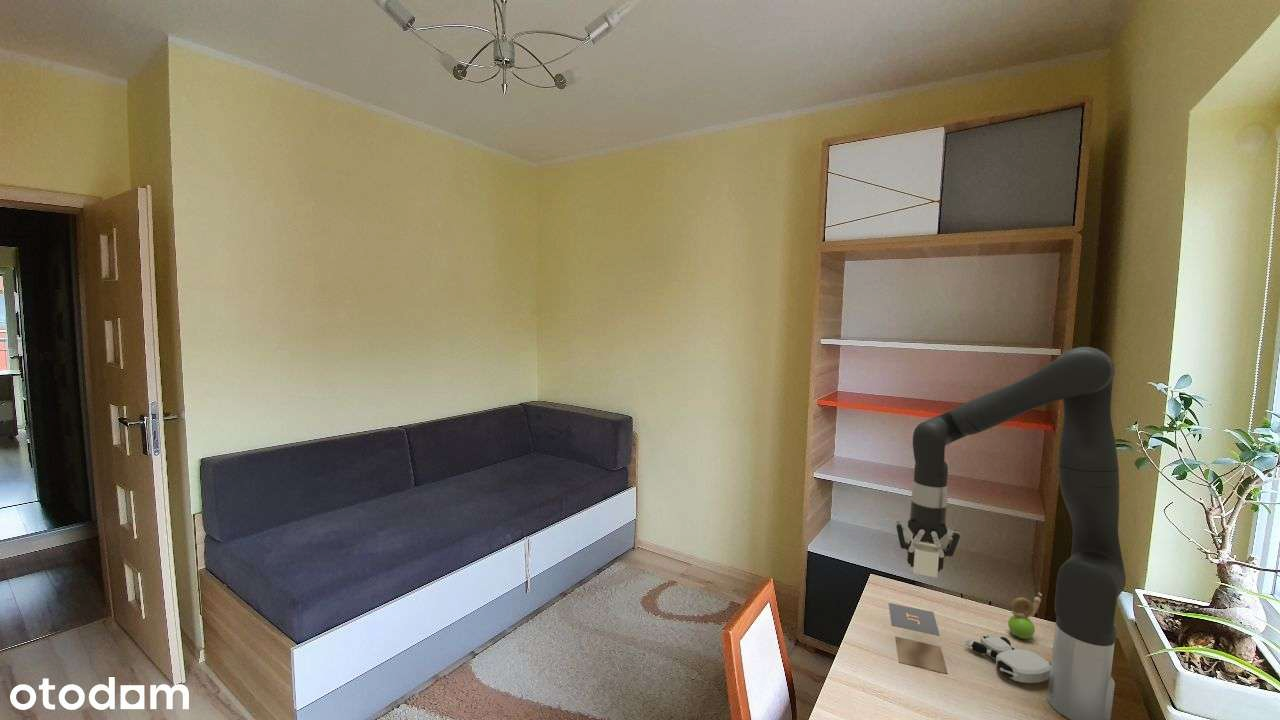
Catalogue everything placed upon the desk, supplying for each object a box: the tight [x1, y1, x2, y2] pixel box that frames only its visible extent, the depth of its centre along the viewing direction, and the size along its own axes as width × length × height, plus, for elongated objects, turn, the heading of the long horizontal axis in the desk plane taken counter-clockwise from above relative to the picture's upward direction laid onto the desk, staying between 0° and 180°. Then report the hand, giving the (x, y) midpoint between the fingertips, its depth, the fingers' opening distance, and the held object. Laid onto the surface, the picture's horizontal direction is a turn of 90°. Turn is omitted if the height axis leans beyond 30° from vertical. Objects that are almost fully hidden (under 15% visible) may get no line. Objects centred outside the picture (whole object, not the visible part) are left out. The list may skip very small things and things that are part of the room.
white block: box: [912, 541, 939, 579], centre depth 127 cm, size 5×5×6 cm
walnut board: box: [894, 635, 949, 676], centre depth 124 cm, size 10×10×1 cm
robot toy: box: [964, 635, 1051, 684], centre depth 120 cm, size 12×4×15 cm
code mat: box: [888, 602, 941, 637], centre depth 138 cm, size 11×11×1 cm
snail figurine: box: [1007, 592, 1043, 640], centre depth 131 cm, size 5×6×12 cm
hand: (924, 567), depth 128 cm, fingers closed on white block, 5 cm apart
